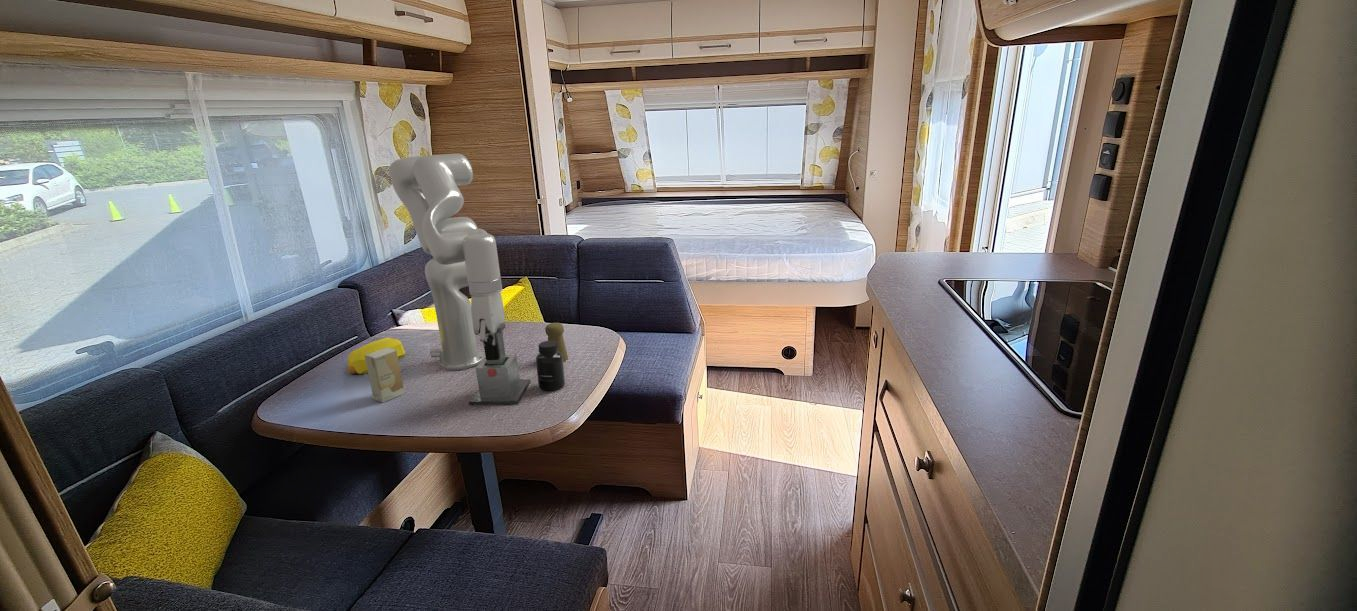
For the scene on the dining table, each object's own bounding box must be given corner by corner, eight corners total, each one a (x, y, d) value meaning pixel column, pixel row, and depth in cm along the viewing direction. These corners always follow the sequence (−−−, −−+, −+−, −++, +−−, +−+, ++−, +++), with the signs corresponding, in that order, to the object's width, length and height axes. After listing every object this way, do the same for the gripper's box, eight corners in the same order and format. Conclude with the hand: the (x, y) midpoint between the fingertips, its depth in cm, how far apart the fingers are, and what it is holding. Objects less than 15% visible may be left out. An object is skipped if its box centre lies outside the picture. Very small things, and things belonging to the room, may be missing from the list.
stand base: (469, 405, 140) (463, 372, 138) (485, 383, 152) (481, 352, 149) (517, 404, 140) (513, 370, 137) (530, 382, 152) (526, 351, 149)
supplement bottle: (542, 394, 145) (537, 351, 141) (536, 384, 150) (530, 342, 147) (569, 388, 148) (564, 345, 144) (561, 378, 153) (556, 337, 150)
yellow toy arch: (341, 374, 161) (359, 379, 158) (335, 353, 159) (354, 357, 156) (395, 351, 176) (413, 355, 173) (391, 331, 174) (409, 334, 171)
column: (486, 390, 144) (477, 328, 138) (491, 384, 147) (482, 323, 142) (508, 390, 144) (500, 328, 138) (513, 383, 147) (504, 322, 142)
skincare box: (382, 403, 143) (372, 358, 139) (372, 399, 145) (362, 355, 141) (406, 393, 148) (397, 349, 144) (396, 389, 150) (387, 346, 147)
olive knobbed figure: (563, 364, 162) (559, 328, 159) (543, 363, 163) (539, 327, 160) (571, 355, 168) (567, 320, 164) (552, 354, 169) (548, 320, 166)
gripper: (481, 277, 145) (491, 343, 151) (456, 296, 129) (468, 370, 135) (511, 276, 145) (519, 343, 150) (489, 295, 129) (500, 369, 135)
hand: (495, 355), depth 143 cm, fingers closed on column, 3 cm apart
